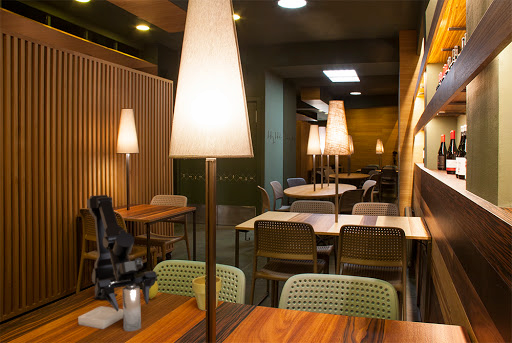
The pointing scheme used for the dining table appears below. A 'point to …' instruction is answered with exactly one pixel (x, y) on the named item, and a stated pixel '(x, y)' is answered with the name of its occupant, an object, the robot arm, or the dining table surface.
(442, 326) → the dining table surface
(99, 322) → the serving tray
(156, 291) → the lemon
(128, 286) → the metal water bottle
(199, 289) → the plant pot
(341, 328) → the dining table surface
